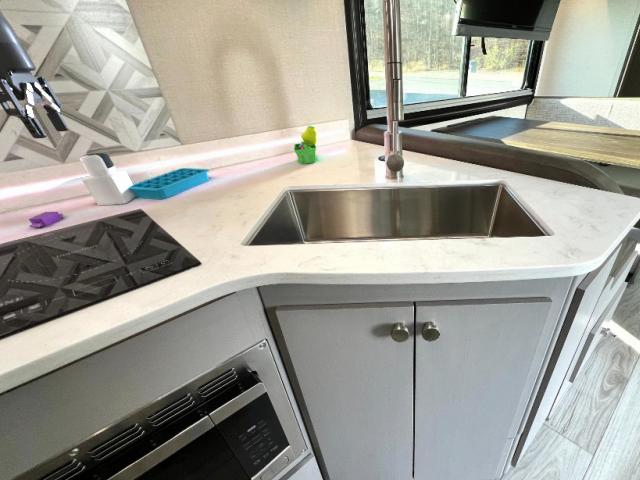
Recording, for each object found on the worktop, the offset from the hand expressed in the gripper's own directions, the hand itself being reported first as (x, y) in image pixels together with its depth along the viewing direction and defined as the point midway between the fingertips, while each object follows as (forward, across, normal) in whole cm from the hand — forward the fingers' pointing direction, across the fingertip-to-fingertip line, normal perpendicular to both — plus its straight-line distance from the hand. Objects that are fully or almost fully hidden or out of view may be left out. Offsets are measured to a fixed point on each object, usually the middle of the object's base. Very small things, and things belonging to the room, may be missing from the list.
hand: (52, 134), depth 71 cm
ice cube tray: (+18, -15, +14) cm, 27 cm away
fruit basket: (+18, -33, +54) cm, 66 cm away
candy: (+18, +6, -8) cm, 21 cm away
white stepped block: (+18, -8, +1) cm, 20 cm away
